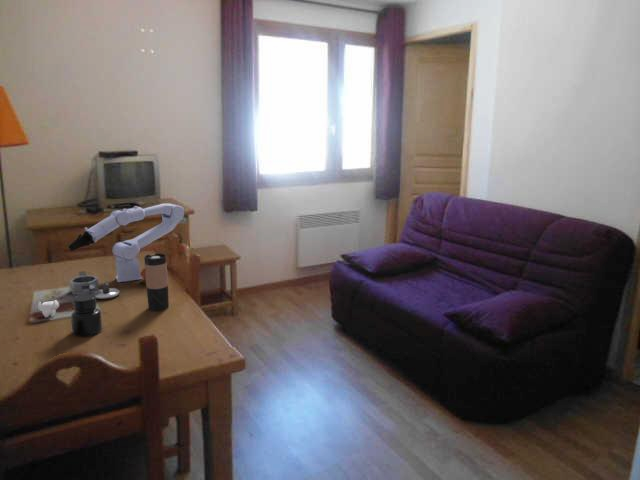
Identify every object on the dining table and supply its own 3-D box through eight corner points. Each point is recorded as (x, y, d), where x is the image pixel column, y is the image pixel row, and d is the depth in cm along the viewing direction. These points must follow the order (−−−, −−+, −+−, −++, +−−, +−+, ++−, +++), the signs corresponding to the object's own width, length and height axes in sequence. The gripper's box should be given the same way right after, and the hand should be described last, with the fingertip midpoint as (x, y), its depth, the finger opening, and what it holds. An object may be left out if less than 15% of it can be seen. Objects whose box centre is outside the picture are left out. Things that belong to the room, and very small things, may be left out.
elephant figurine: (36, 321, 174) (34, 305, 172) (42, 312, 181) (40, 297, 180) (57, 319, 175) (55, 303, 174) (62, 311, 183) (60, 295, 181)
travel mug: (163, 312, 183) (159, 259, 178) (144, 310, 184) (139, 258, 179) (173, 304, 190) (169, 254, 185) (154, 303, 192) (151, 252, 187)
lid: (118, 291, 204) (116, 278, 203) (121, 298, 196) (120, 285, 195) (92, 294, 200) (90, 282, 198) (94, 302, 192) (93, 289, 190)
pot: (96, 280, 216) (94, 269, 214) (100, 295, 199) (99, 283, 197) (70, 284, 211) (68, 272, 210) (72, 299, 194) (71, 287, 193)
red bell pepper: (143, 291, 210) (162, 276, 210) (131, 278, 209) (150, 263, 209) (147, 287, 217) (165, 273, 217) (136, 274, 216) (154, 260, 216)
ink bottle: (95, 323, 173) (92, 290, 170) (108, 330, 167) (105, 296, 164) (66, 332, 165) (62, 298, 162) (79, 340, 160) (75, 305, 157)
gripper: (91, 223, 211) (61, 241, 204) (99, 218, 200) (69, 237, 192) (101, 237, 213) (72, 255, 206) (110, 233, 202) (80, 252, 194)
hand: (71, 248), depth 199 cm, fingers open, 7 cm apart
